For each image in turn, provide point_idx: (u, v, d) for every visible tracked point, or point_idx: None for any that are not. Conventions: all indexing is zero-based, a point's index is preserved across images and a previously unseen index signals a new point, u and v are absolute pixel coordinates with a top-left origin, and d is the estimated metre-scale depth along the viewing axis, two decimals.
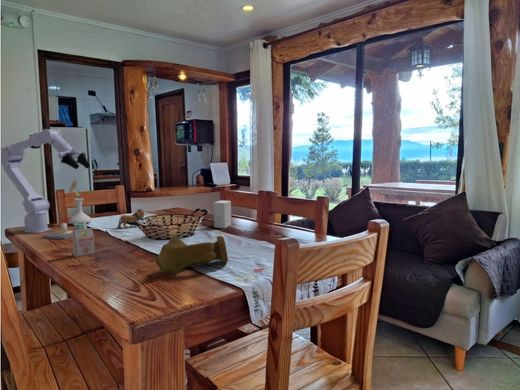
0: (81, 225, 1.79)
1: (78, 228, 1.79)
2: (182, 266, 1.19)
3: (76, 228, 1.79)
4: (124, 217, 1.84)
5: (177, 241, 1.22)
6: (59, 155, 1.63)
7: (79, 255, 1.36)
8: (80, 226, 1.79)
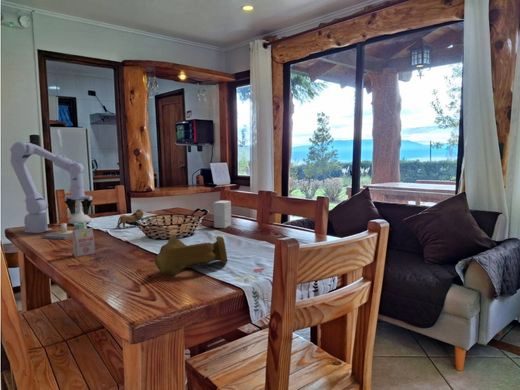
0: (81, 225, 1.79)
1: (78, 228, 1.79)
2: (181, 267, 1.18)
3: (76, 228, 1.79)
4: (123, 217, 1.83)
5: (176, 241, 1.21)
6: (90, 197, 1.78)
7: (79, 255, 1.36)
8: (80, 226, 1.79)
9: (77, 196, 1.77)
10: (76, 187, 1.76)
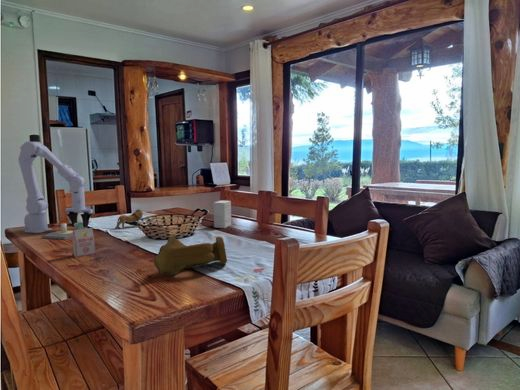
0: (81, 225, 1.79)
1: (78, 228, 1.79)
2: (180, 267, 1.17)
3: (76, 228, 1.79)
4: (122, 217, 1.83)
5: (175, 242, 1.21)
6: (91, 211, 1.79)
7: (79, 255, 1.36)
8: (80, 226, 1.79)
9: (78, 209, 1.78)
10: (77, 200, 1.77)
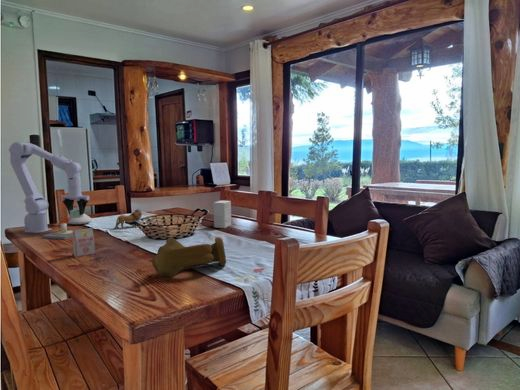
0: (77, 212, 1.76)
1: (74, 215, 1.76)
2: (179, 268, 1.17)
3: (72, 215, 1.76)
4: (122, 217, 1.83)
5: (174, 243, 1.20)
6: (88, 197, 1.76)
7: (79, 255, 1.36)
8: (76, 213, 1.76)
9: (74, 196, 1.75)
10: (73, 187, 1.74)
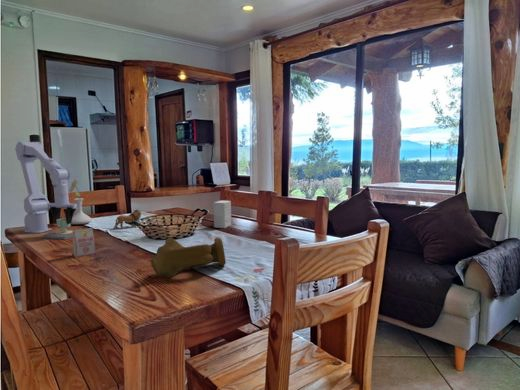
0: (64, 221, 1.67)
1: (61, 224, 1.67)
2: (178, 269, 1.16)
3: (59, 224, 1.67)
4: (121, 217, 1.83)
5: (173, 243, 1.19)
6: (75, 206, 1.67)
7: (79, 255, 1.36)
8: (63, 222, 1.67)
9: (61, 204, 1.65)
10: (59, 194, 1.65)
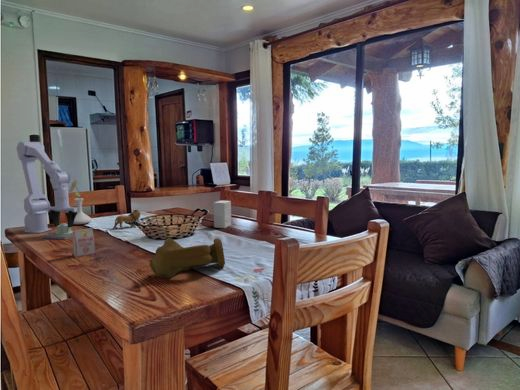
0: (65, 227, 1.67)
1: (61, 230, 1.67)
2: (177, 269, 1.15)
3: (59, 230, 1.67)
4: (120, 217, 1.82)
5: (172, 243, 1.19)
6: (75, 209, 1.67)
7: (79, 255, 1.36)
8: (64, 228, 1.67)
9: (61, 208, 1.66)
10: (60, 198, 1.65)
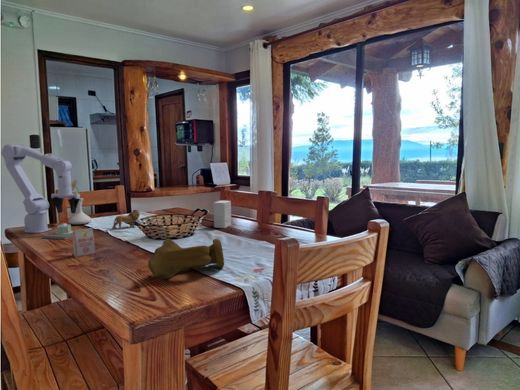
0: (65, 227, 1.67)
1: (61, 230, 1.67)
2: (176, 270, 1.15)
3: (59, 230, 1.67)
4: (119, 218, 1.82)
5: (171, 244, 1.18)
6: (78, 196, 1.74)
7: (79, 255, 1.36)
8: (64, 228, 1.67)
9: (64, 194, 1.73)
10: (63, 185, 1.72)
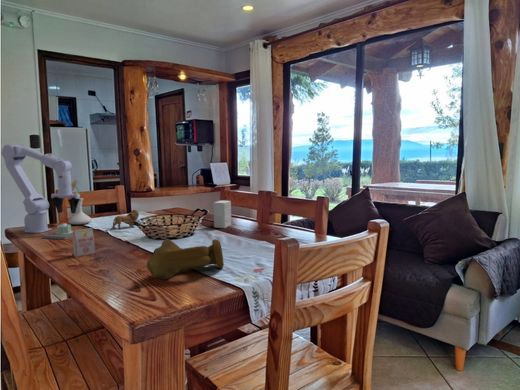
0: (65, 227, 1.67)
1: (61, 230, 1.67)
2: (175, 271, 1.14)
3: (59, 230, 1.67)
4: (118, 218, 1.82)
5: (170, 244, 1.17)
6: (78, 196, 1.74)
7: (79, 255, 1.36)
8: (64, 228, 1.67)
9: (64, 194, 1.73)
10: (63, 185, 1.72)
